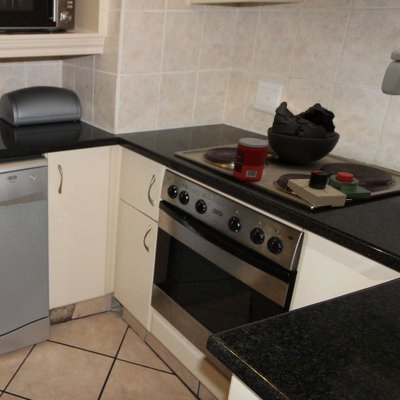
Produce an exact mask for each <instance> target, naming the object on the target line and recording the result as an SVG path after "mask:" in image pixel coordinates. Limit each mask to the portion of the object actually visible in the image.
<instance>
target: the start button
mask: <svg viewBox="0 0 400 400" xmlns="http://www.w3.org/2000/svg"><path fill="white" fill-rule="evenodd" d="M336 175H337V178H336V179H338V180H341V181H346V182H352V179H353V178H354V174H353V173H350V172H346V171H339V172H337V174H336Z"/></svg>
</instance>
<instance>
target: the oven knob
mask: <svg viewBox="0 0 400 400" xmlns="http://www.w3.org/2000/svg"><path fill="white" fill-rule="evenodd" d="M329 177H330V173H329V171H325V170H321V169H312V170H311V171H310V176H309V178H308V179H309V183H308V186H309V187H311V188H314V189H320V190H322V189H325V188H326V184H327V180H328V178H329Z"/></svg>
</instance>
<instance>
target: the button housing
mask: <svg viewBox="0 0 400 400" xmlns="http://www.w3.org/2000/svg"><path fill="white" fill-rule="evenodd" d="M336 178H337V174H332V175H329V177H328V180H327V185H329V186H332V188H334V189H336V190H338V191H340V192H342V193H344V194H345V195H347V196H346V199H352V200H356V201H369V200H370V199H371V195H372V191H370V190H368V189H367V188H364V187H362V186H360V185H359V183H360V181H359V179H357V178H355V177H353V179H352V182H346V181H341V180H338V179H336Z"/></svg>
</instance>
